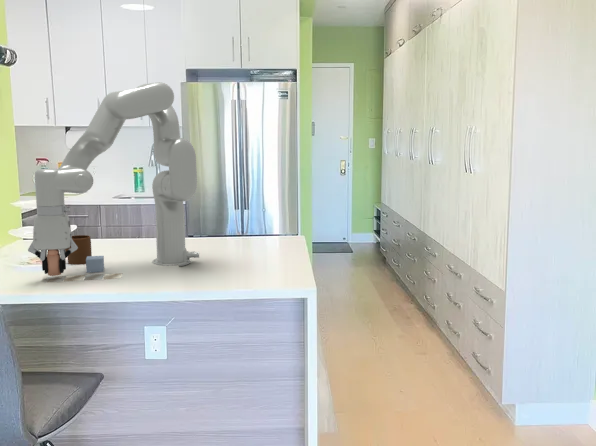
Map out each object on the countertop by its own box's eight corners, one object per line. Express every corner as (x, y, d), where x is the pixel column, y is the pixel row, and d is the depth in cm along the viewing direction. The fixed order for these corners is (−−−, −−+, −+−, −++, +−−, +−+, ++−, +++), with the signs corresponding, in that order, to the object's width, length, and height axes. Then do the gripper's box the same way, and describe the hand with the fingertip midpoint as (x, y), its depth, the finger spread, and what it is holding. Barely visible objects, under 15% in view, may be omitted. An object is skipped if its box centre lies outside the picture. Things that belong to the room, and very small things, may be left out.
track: (123, 275, 176) (123, 272, 175) (122, 281, 169) (122, 278, 169) (47, 279, 170) (47, 276, 170) (43, 285, 164) (42, 282, 163)
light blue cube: (104, 270, 182) (103, 255, 181) (103, 274, 177) (102, 258, 176) (87, 271, 180) (87, 256, 180) (86, 275, 176) (85, 259, 175)
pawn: (62, 272, 169) (61, 245, 168) (58, 275, 166) (57, 248, 164) (50, 272, 169) (48, 245, 168) (46, 275, 165) (44, 248, 164)
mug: (51, 265, 187) (49, 237, 186) (64, 260, 195) (62, 234, 193) (84, 267, 185) (83, 239, 184) (96, 262, 193) (95, 235, 191)
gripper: (82, 209, 170) (85, 268, 173) (23, 210, 166) (26, 270, 169) (79, 212, 163) (82, 274, 166) (17, 213, 159) (21, 276, 162)
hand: (54, 271), depth 167 cm, fingers closed on pawn, 3 cm apart
